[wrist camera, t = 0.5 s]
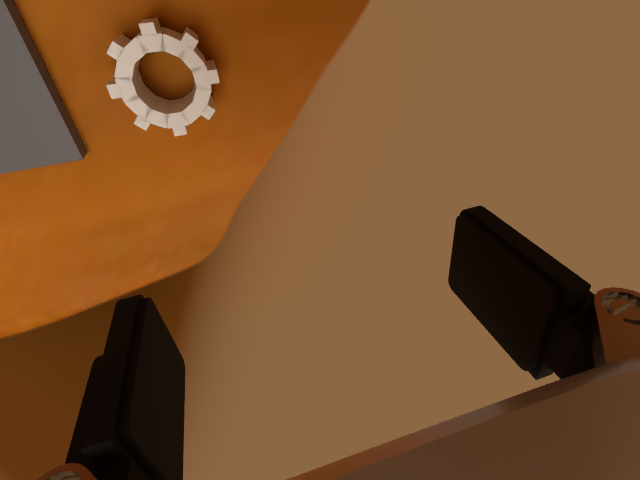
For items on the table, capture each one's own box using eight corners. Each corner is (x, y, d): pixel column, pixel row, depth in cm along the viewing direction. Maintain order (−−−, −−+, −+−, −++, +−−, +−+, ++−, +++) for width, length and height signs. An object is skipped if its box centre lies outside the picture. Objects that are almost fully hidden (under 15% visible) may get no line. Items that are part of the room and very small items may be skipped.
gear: (97, 24, 25) (83, 30, 22) (202, 12, 27) (204, 16, 24) (136, 127, 30) (129, 144, 27) (226, 112, 31) (229, 126, 28)
